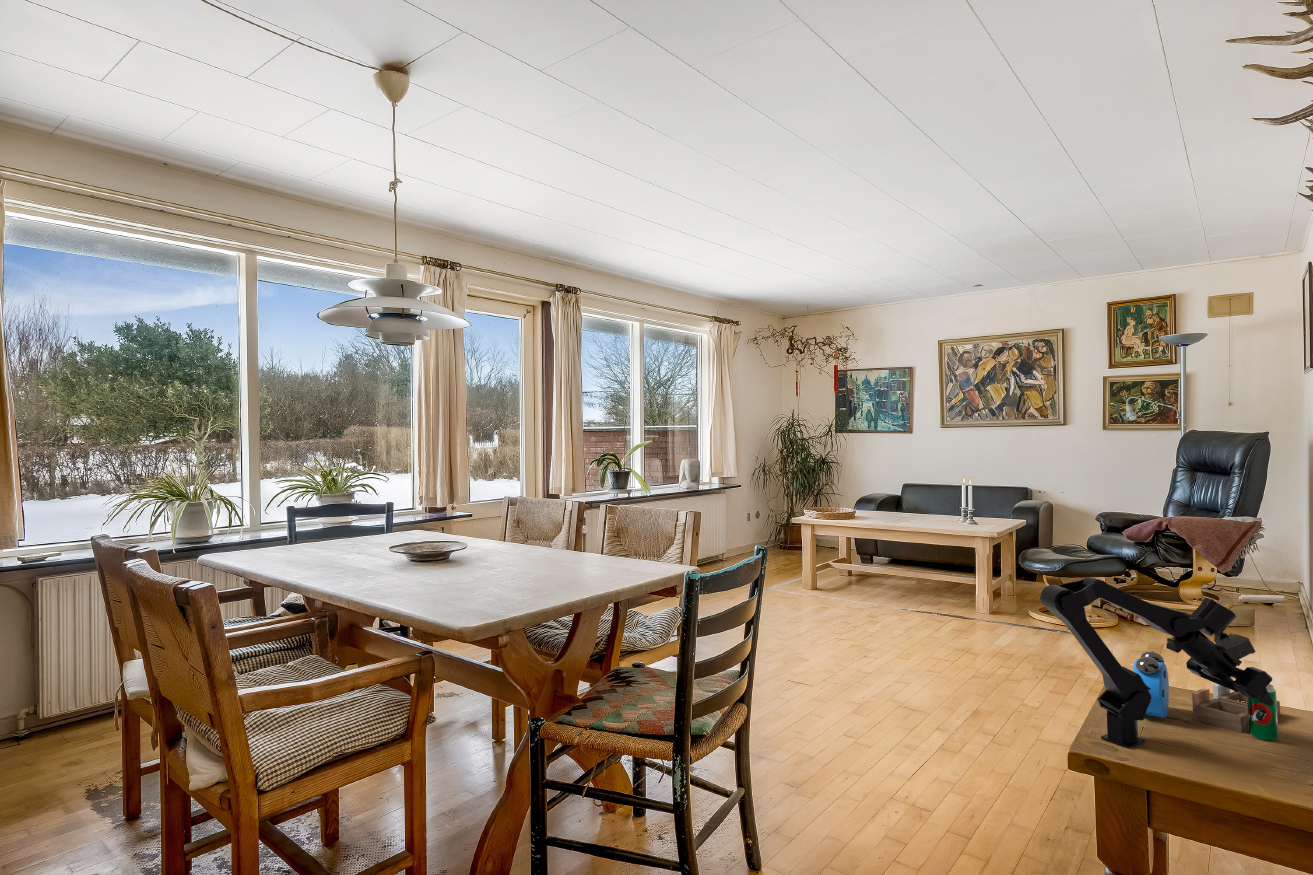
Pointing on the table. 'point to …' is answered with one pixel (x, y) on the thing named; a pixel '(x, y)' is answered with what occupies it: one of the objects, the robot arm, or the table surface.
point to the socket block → (1222, 708)
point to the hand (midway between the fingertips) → (1254, 697)
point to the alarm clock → (1154, 682)
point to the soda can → (1263, 718)
